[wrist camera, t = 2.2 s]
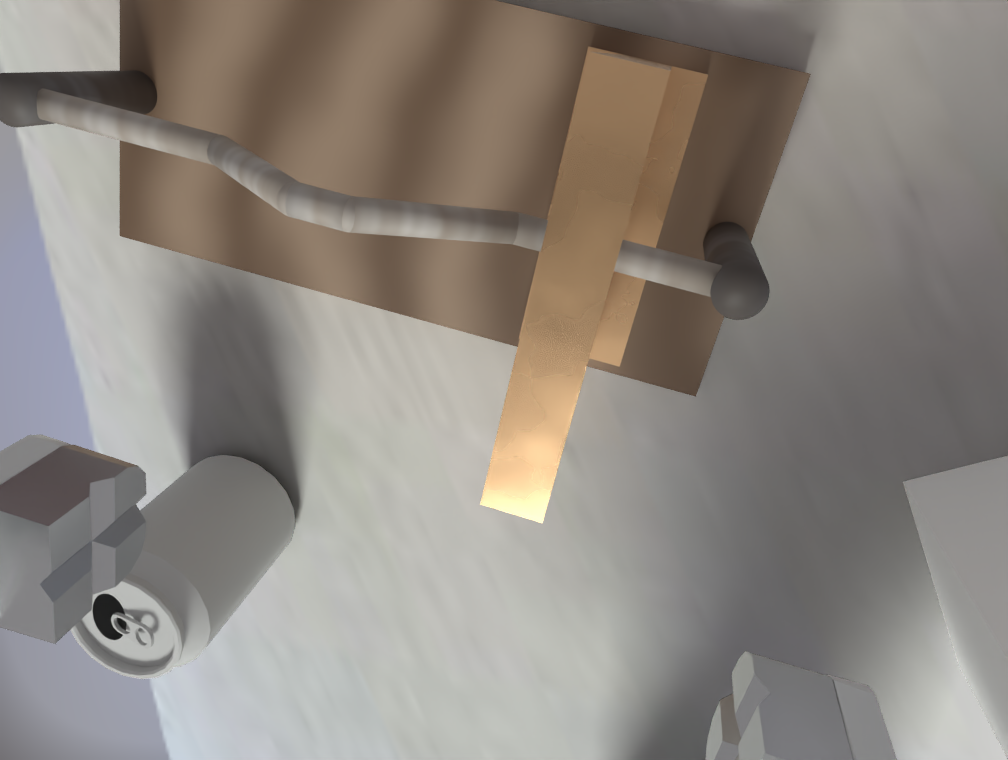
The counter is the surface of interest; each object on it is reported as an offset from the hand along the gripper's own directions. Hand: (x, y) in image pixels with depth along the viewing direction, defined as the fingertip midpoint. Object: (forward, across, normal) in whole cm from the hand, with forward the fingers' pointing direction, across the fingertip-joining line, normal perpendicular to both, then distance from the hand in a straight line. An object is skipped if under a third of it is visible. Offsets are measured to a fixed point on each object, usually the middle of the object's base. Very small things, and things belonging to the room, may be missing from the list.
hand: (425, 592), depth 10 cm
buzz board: (+29, -9, 0) cm, 30 cm away
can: (+29, -17, -23) cm, 41 cm away
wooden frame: (+28, 0, 0) cm, 28 cm away
